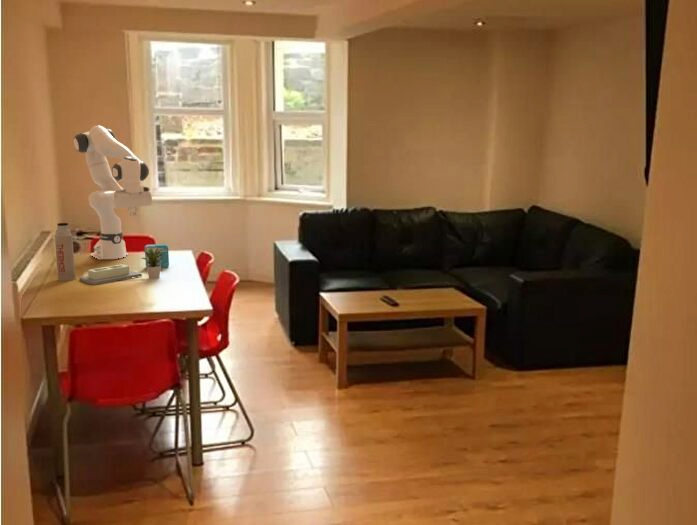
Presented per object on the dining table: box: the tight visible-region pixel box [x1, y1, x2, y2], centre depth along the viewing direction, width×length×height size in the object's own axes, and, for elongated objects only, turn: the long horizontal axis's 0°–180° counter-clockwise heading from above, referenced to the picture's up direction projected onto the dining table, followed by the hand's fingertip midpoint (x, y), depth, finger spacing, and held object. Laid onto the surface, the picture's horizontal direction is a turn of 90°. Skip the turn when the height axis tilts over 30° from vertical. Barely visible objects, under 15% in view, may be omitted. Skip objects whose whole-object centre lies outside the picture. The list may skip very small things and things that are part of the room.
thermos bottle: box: [54, 222, 76, 282], centre depth 350 cm, size 8×8×28 cm
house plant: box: [140, 246, 169, 280], centre depth 354 cm, size 14×14×16 cm
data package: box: [144, 243, 170, 269], centre depth 381 cm, size 12×4×12 cm, turn 105°
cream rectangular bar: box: [87, 263, 130, 280], centre depth 354 cm, size 18×6×4 cm, turn 137°
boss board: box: [78, 269, 143, 286], centre depth 355 cm, size 14×26×4 cm, turn 137°
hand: (133, 215), depth 366 cm, fingers closed
